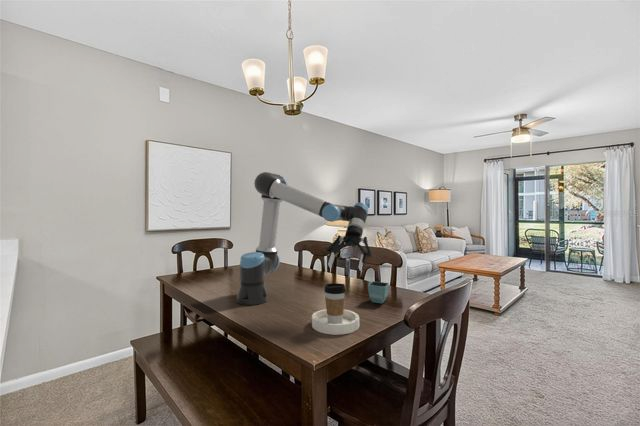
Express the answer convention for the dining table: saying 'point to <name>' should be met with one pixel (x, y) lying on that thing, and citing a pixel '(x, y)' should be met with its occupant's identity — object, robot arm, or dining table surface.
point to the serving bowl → (348, 325)
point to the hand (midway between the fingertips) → (344, 267)
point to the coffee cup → (335, 302)
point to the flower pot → (378, 291)
